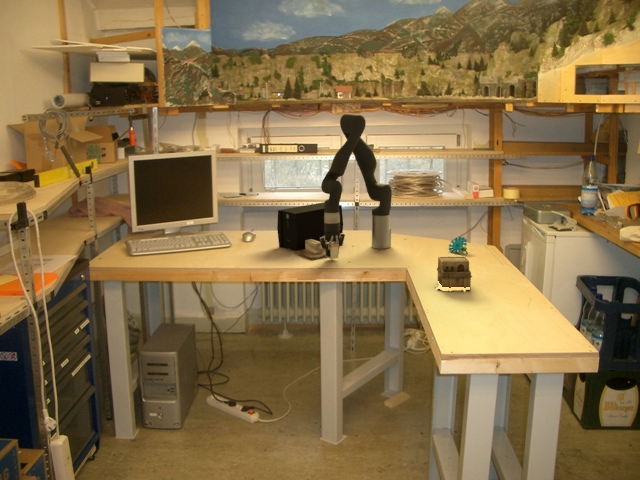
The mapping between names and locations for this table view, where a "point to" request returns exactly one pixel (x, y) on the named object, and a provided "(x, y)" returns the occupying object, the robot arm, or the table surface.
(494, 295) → the table surface
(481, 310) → the table surface
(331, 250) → the orange-striped cream block
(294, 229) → the uninterruptible power supply
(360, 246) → the table surface
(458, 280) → the miniature house
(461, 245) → the teal spiky round piece
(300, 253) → the ticket board
